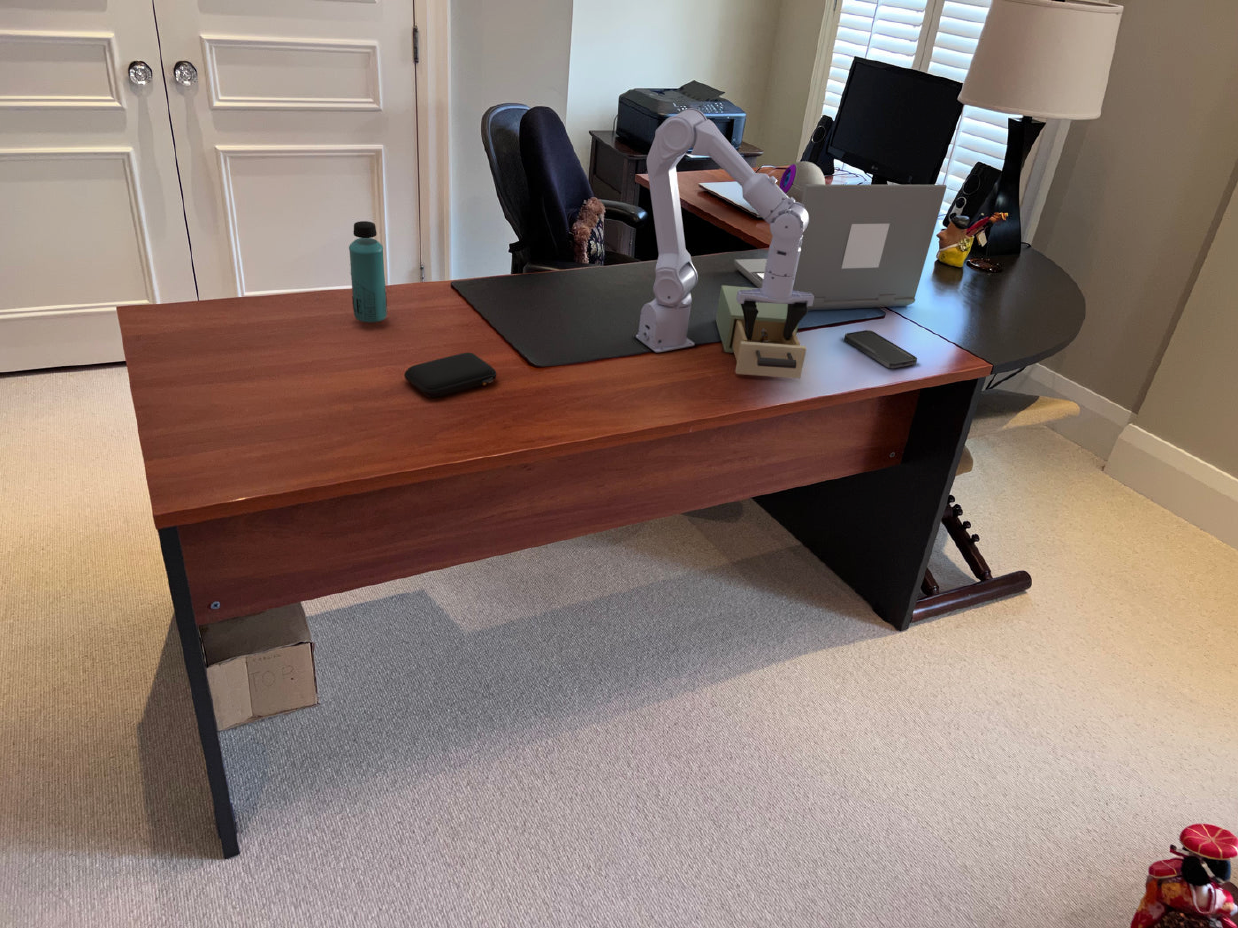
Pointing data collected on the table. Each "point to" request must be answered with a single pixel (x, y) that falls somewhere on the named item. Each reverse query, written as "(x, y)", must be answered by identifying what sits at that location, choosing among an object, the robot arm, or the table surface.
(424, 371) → the carrying case
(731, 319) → the cabinet
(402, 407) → the table surface
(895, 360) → the phone
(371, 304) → the beverage bottle
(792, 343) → the drawer
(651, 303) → the robot arm
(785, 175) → the webcam
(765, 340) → the wooden post with brackets
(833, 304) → the laptop
